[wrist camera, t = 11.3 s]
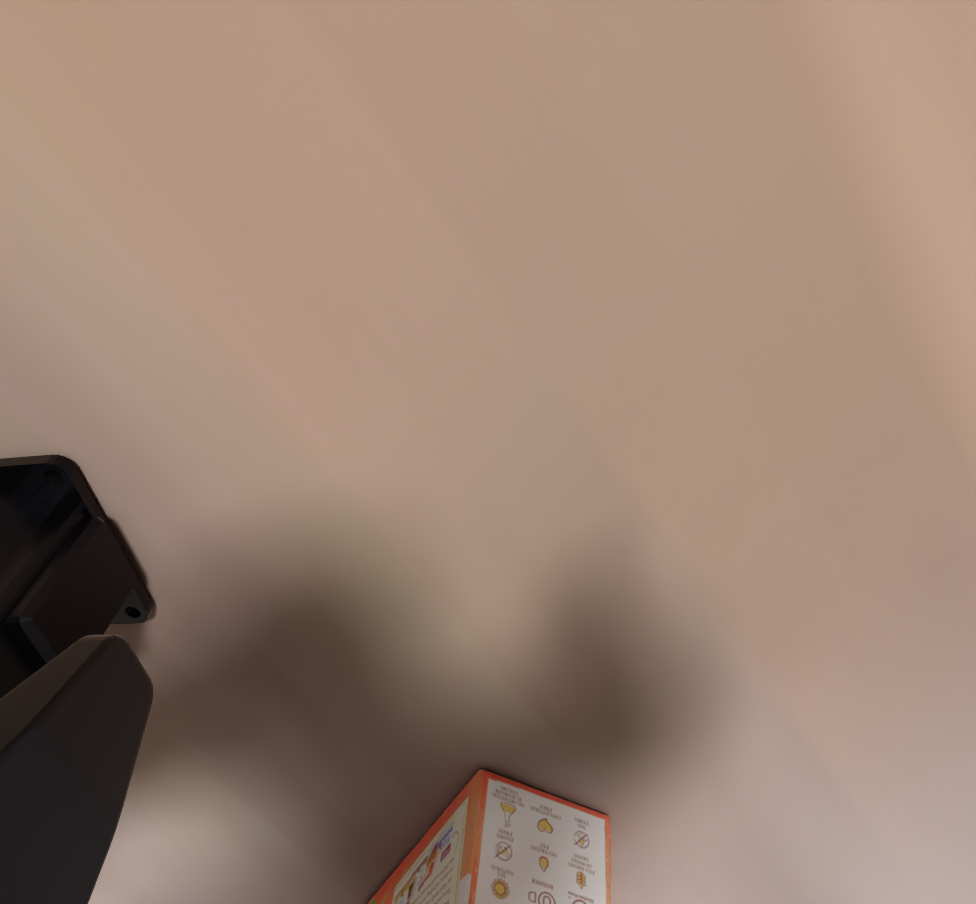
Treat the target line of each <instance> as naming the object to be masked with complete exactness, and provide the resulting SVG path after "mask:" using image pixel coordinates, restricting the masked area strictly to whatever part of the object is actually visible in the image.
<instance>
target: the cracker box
mask: <svg viewBox="0 0 976 904" xmlns="http://www.w3.org/2000/svg"><path fill="white" fill-rule="evenodd" d="M610 850H611V840H610V818H609V817H608V815H605V814H602V813H599V812H597V811H594V810H591V809H588V808H585V807H582V806H580V805H577V804H575V803H572V802H569V801H567V800H564V799H561V798H559V797H556V796H553V795H551V794H548V793H545V792H542V791H540V790H537V789H534V788H531V787H529V786H526V785H524V784H521V783H519V782H516V781H513V780H511V779H508V778H505V777H503V776H500V775H497V774H494V773H491V772H489V771H486V770H482V769H481V770H479V771H478V772H477V773H476V774H475V775H474V776H473V778H472V779H471V780H470V781H469V782H468V784H467V785H466V786H465V787H464V788H463V789H462V791H461V792H460V793H459V794H458V796H457V797H456V798H455V799H454V800H453V801H452V803H451V804H450V805H449V806H448V807H447V808H446V810H445V811H444V812H443V813H442V815H441V816H440V817H439V818H438V819H437V821H436V822H435V823H434V824H433V825H432V827H431V828H430V829H429V830H428V831H427V833H426V834H425V835H424V836H423V837H422V839H421V840H420V841H419V842H418V844H417V845H416V846H415V847H414V848H413V850H412V851H411V852H410V853H409V854H408V856H407V857H406V858H405V859H404V860H403V861H402V863H401V864H400V865H399V866H398V867H397V869H396V870H395V871H394V872H393V873H392V875H391V876H390V877H389V878H388V879H387V881H386V882H385V883H384V884H383V886H382V887H381V888H380V889H379V890H378V891H377V893H376V894H375V895H374V896H373V897H372V898H371V900H370V901H369V902H368V903H367V904H611V857H610Z"/></svg>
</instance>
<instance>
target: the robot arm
mask: <svg viewBox="0 0 976 904" xmlns="http://www.w3.org/2000/svg"><path fill="white" fill-rule="evenodd" d="M55 471H56V472H57V473H59V474H60V475H59V474H57V473H56V472H55ZM152 611H153V604H152V601H151V600H150V598H149V596H148V594H147V592H146V591H145V589H144V587H143V585H142V584H141V582H140V580H139V578H138V576H137V575H136V573H135V571H134V569H133V568H132V566H131V564H130V562H129V560H128V559H127V557H126V555H125V553H124V552H123V550H122V548H121V546H120V544H119V543H118V541H117V539H116V537H115V536H114V534H113V532H112V530H111V528H110V527H109V525H108V523H107V521H106V520H105V518H104V516H103V514H102V513H101V511H100V509H99V507H98V505H97V504H96V502H95V500H94V498H93V497H92V495H91V493H90V491H89V489H88V488H87V486H86V484H85V482H84V481H83V479H82V477H81V475H80V473H79V472H78V470H77V468H76V467H75V465H74V464H73V463H72V462H71V461H70V460H68V459H67V458H65V457H62V456H60V455H43V456H30V457H18V458H5V459H0V904H88V902H89V899H90V897H91V894H92V892H93V889H94V887H95V884H96V881H97V879H98V876H99V874H100V871H101V868H102V866H103V863H104V861H105V858H106V856H107V853H108V850H109V847H110V845H111V842H112V839H113V836H114V834H115V831H116V828H117V824H118V821H119V818H120V815H121V811H122V808H123V805H124V801H125V797H126V794H127V790H128V787H129V783H130V780H131V776H132V772H133V769H134V765H135V762H136V758H137V755H138V751H139V747H140V744H141V740H142V737H143V733H144V730H145V726H146V722H147V719H148V715H149V712H150V708H151V704H152V699H153V686H152V682H151V679H150V677H149V675H148V674H147V672H146V670H145V669H144V667H143V666H142V664H141V662H140V661H139V659H138V657H137V656H136V654H135V652H134V651H133V649H132V648H131V646H130V644H129V643H128V641H127V640H126V639H125V638H124V637H122V636H120V635H117V634H104V632H105V631H106V629H107V628H108V626H109V625H110V624H129V623H142V622H145V621H146V620H147V619H148V617H149V616H150V614H151V612H152Z"/></svg>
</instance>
